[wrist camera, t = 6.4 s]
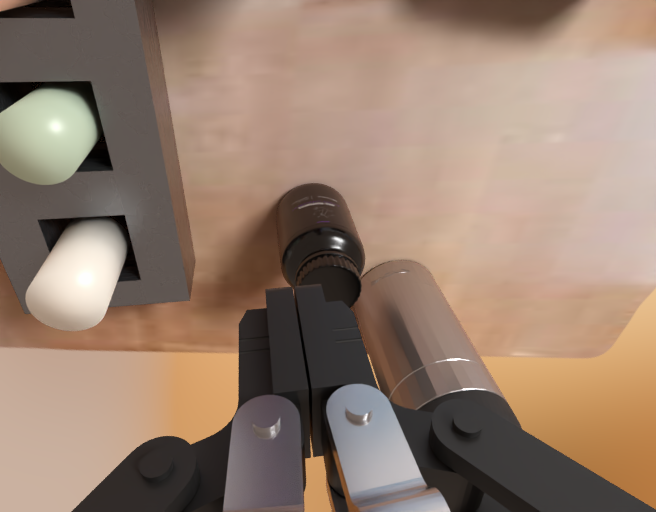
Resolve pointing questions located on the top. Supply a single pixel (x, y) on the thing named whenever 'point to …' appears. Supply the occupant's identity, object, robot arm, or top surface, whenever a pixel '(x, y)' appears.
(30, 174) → the pale green rounded peg
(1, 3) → the peach rounded peg
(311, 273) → the supplement bottle
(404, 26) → the top surface
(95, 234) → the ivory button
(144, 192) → the three peg holder
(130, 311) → the top surface
